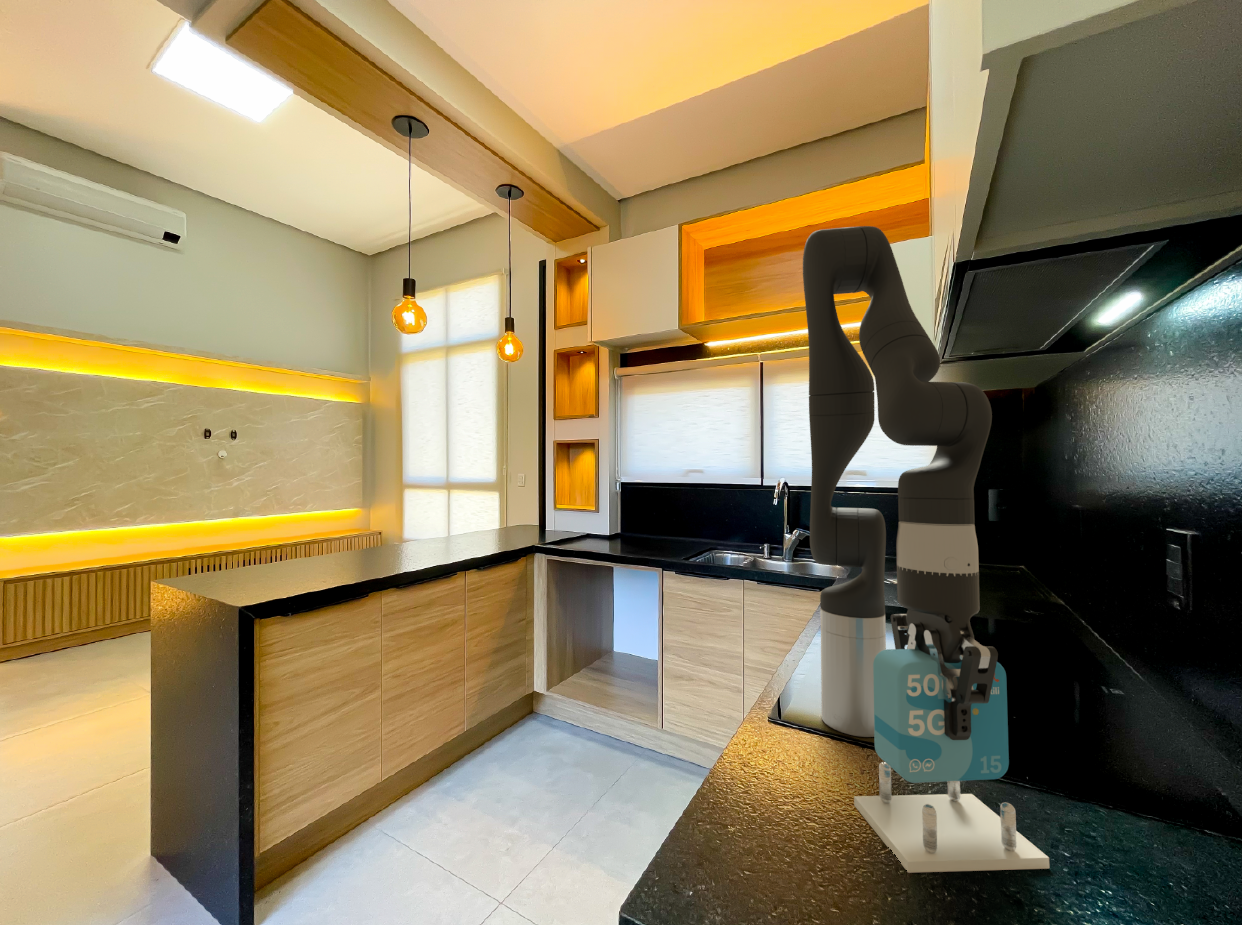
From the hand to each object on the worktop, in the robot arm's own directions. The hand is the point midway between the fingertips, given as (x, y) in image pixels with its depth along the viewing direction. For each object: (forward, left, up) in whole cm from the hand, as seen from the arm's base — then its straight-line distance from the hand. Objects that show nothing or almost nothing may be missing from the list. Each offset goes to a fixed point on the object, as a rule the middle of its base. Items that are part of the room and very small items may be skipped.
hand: (939, 724), depth 53 cm
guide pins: (0, 0, -11) cm, 11 cm away
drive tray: (0, 0, -11) cm, 11 cm away
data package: (0, 0, -5) cm, 5 cm away
